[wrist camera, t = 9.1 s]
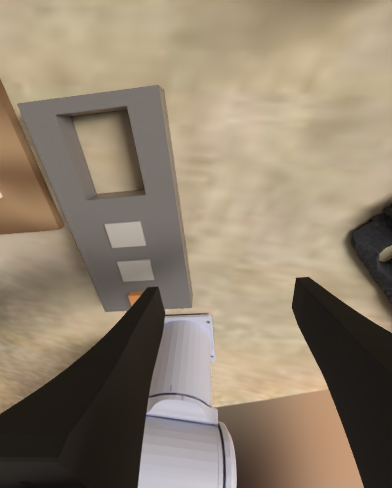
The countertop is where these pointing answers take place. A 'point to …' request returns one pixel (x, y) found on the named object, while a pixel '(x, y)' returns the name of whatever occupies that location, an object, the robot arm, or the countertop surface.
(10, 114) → the coaster
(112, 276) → the power strip
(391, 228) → the dark slate chunk
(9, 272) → the countertop surface
